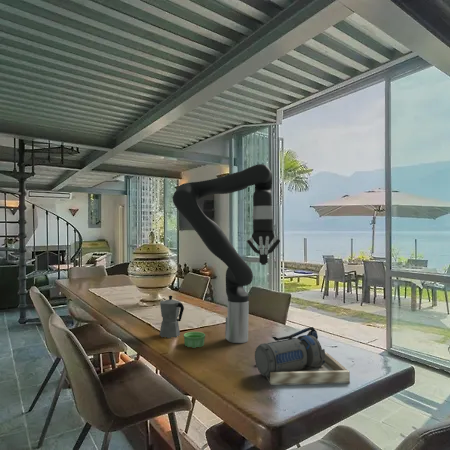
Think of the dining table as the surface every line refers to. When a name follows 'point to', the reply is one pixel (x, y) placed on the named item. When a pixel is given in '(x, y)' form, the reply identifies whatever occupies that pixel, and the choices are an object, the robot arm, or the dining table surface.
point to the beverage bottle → (290, 353)
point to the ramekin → (194, 339)
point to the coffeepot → (170, 317)
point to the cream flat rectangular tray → (313, 374)
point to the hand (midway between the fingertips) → (263, 264)
